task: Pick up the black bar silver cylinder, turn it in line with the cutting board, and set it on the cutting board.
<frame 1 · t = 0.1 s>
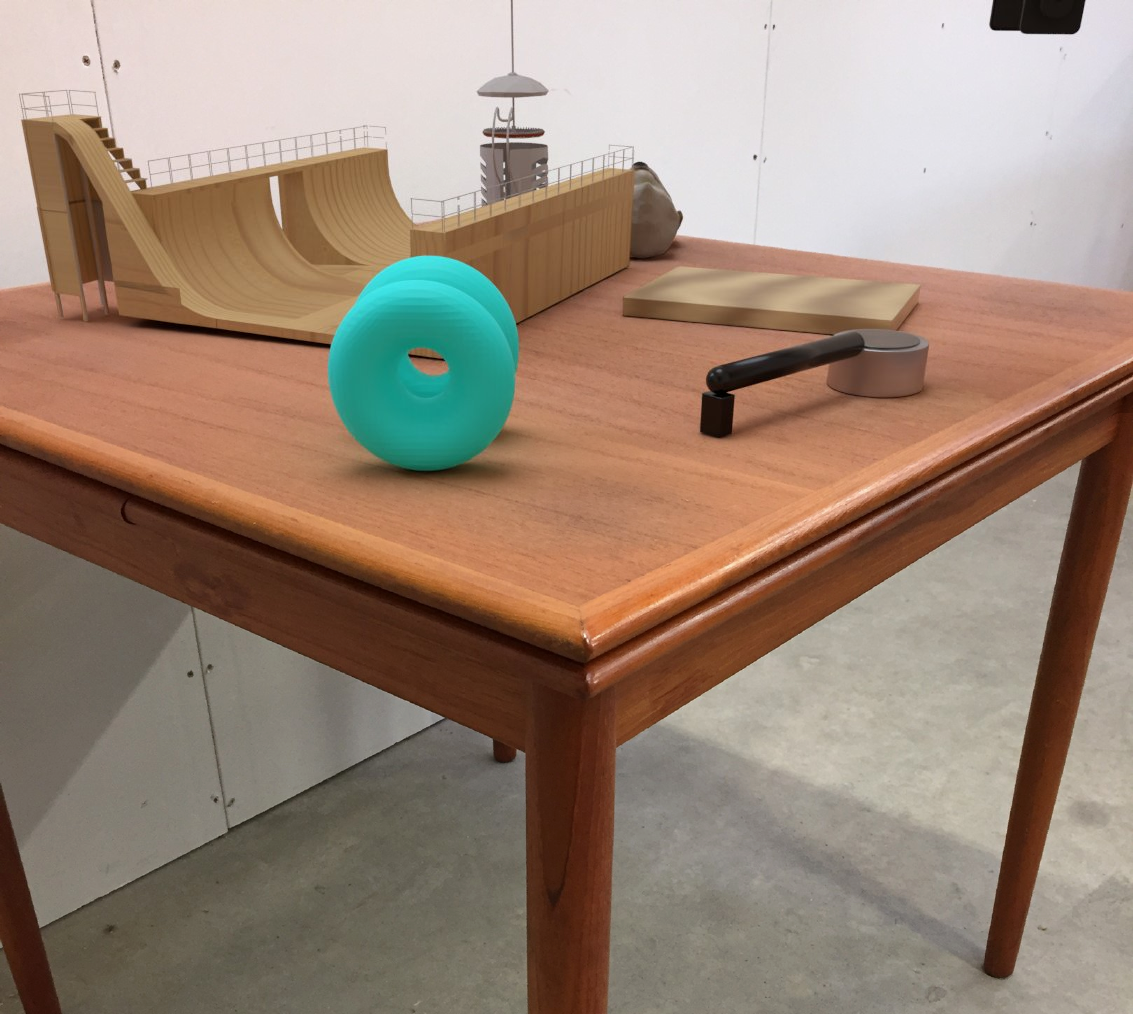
hand: (1030, 31, 73), 21 cm above the table, tool pointing down, fingers open, 9 cm apart
bird feeder: (513, 225, 144), on the table
ceramic sculpture: (636, 252, 129), on the table
cutting board: (773, 308, 104), on the table
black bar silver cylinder: (874, 384, 84), on the table
skate ramp: (372, 292, 110), on the table
donuts: (432, 453, 71), on the table
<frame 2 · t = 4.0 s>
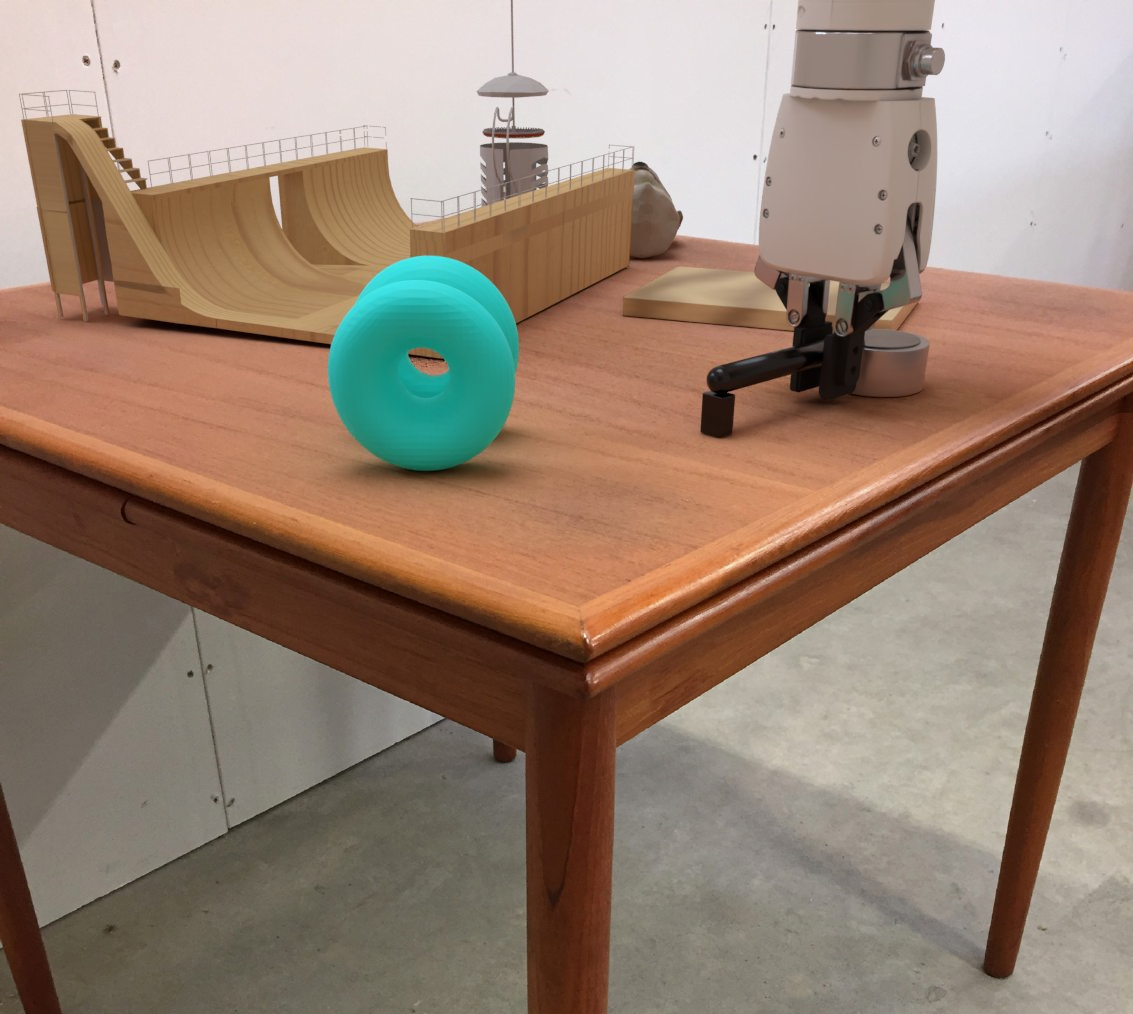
hand: (822, 389, 80), 1 cm above the table, tool pointing down, fingers closed on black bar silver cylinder
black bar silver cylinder: (874, 384, 84), on the table, touching gripper
everything else where it was.
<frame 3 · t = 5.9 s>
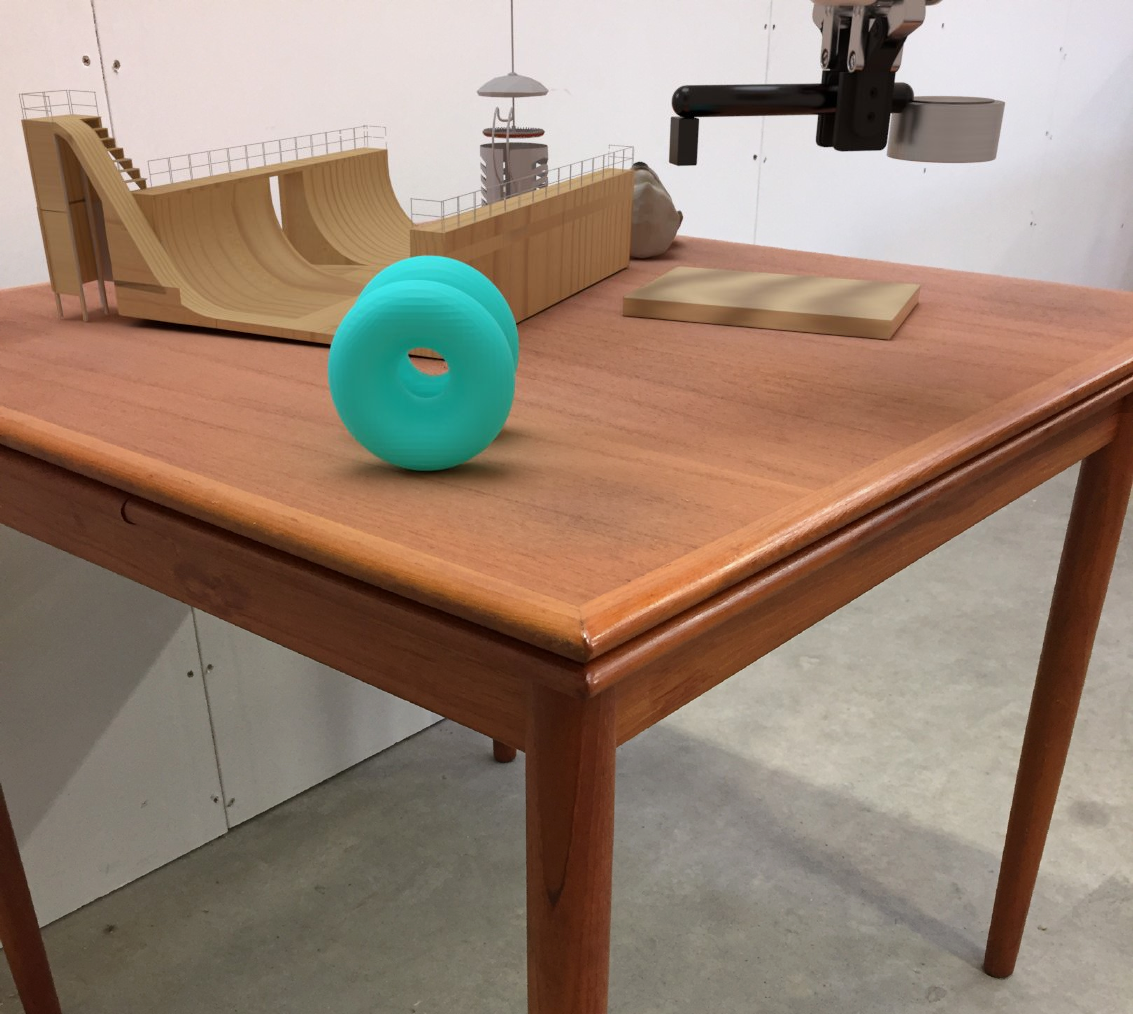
hand: (850, 145, 72), 15 cm above the table, tool pointing down, fingers closed on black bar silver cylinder
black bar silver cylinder: (940, 156, 74), point 14 cm above the table, touching gripper
everything else where it was.
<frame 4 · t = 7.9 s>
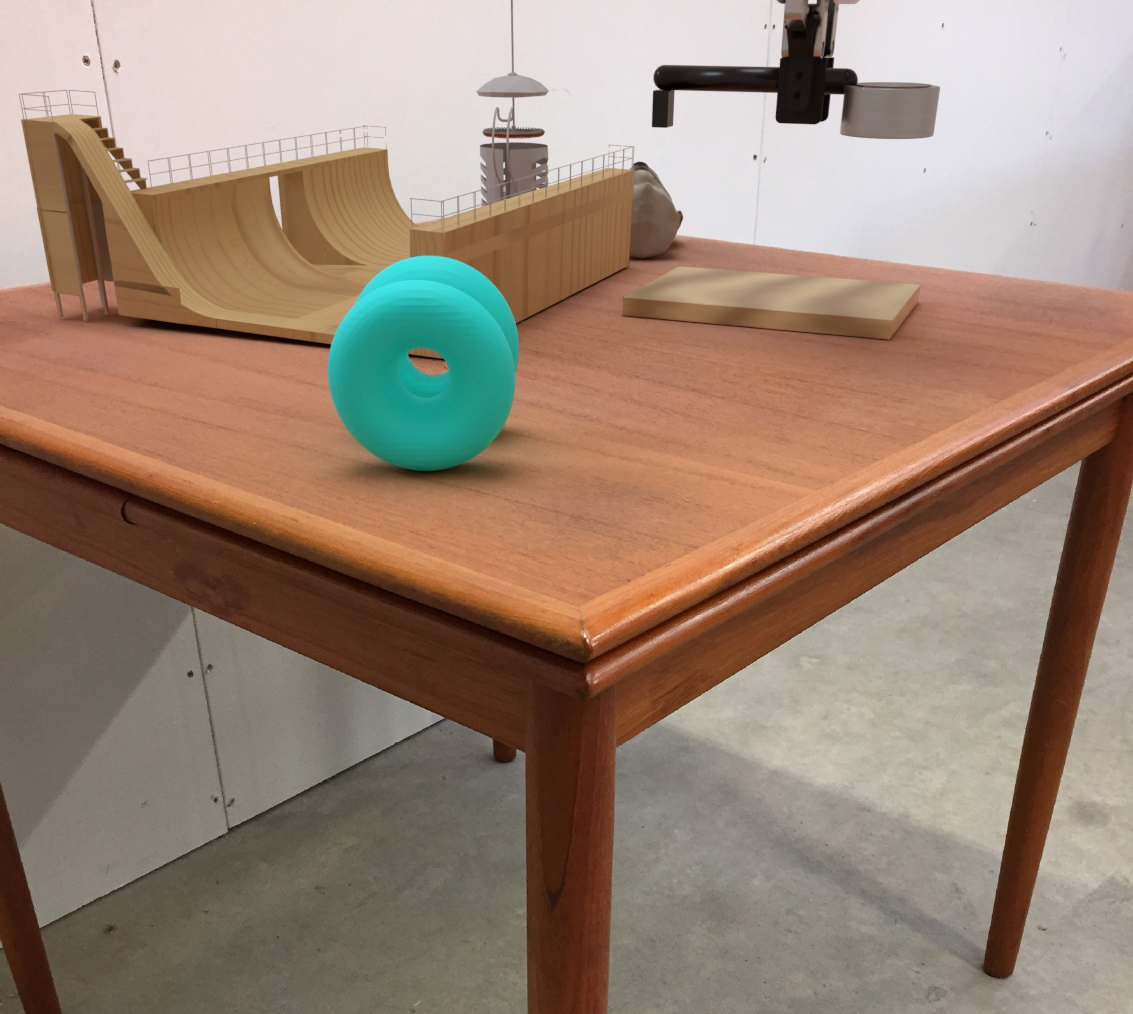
hand: (801, 119, 87), 15 cm above the table, tool pointing down, fingers closed on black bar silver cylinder
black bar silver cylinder: (886, 134, 86), point 14 cm above the table, touching gripper
everything else where it was.
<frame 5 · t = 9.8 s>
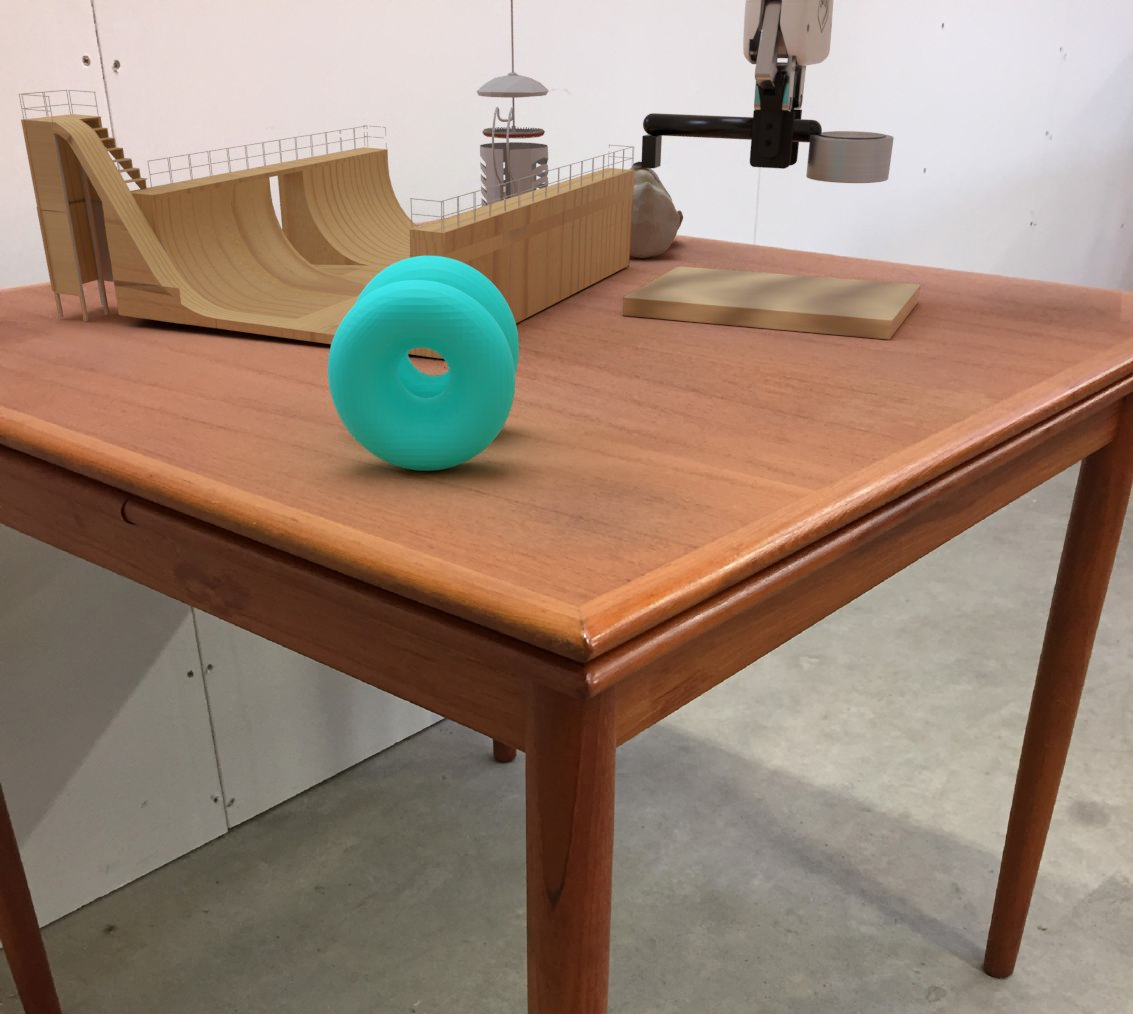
hand: (773, 163, 99), 11 cm above the table, tool pointing down, fingers closed on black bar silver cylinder
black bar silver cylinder: (846, 177, 97), point 10 cm above the table, touching gripper
everything else where it was.
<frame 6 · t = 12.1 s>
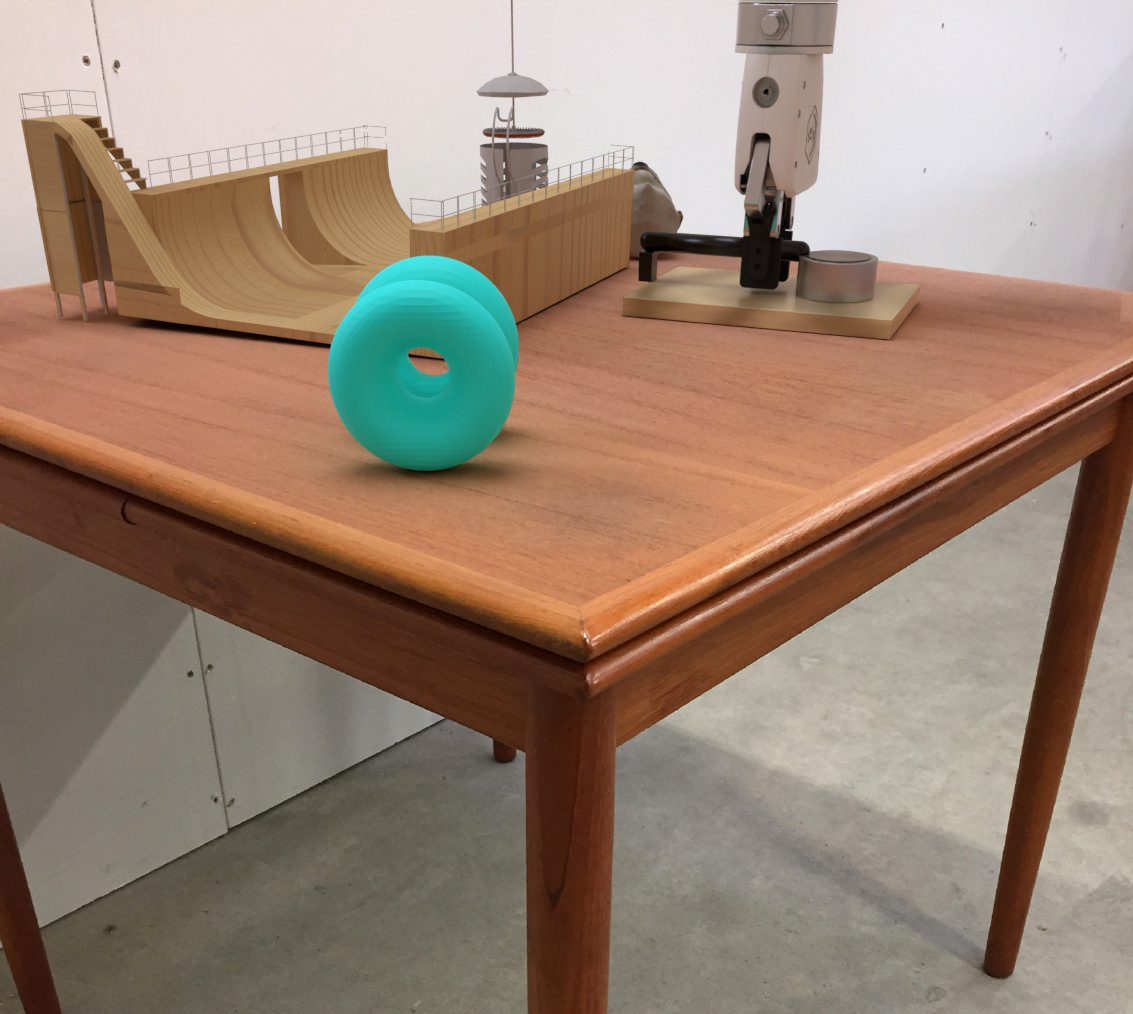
hand: (764, 281, 103), 2 cm above the table, tool pointing down, fingers closed
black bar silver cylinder: (834, 295, 102), point 1 cm above the table, touching cutting board
everything else where it was.
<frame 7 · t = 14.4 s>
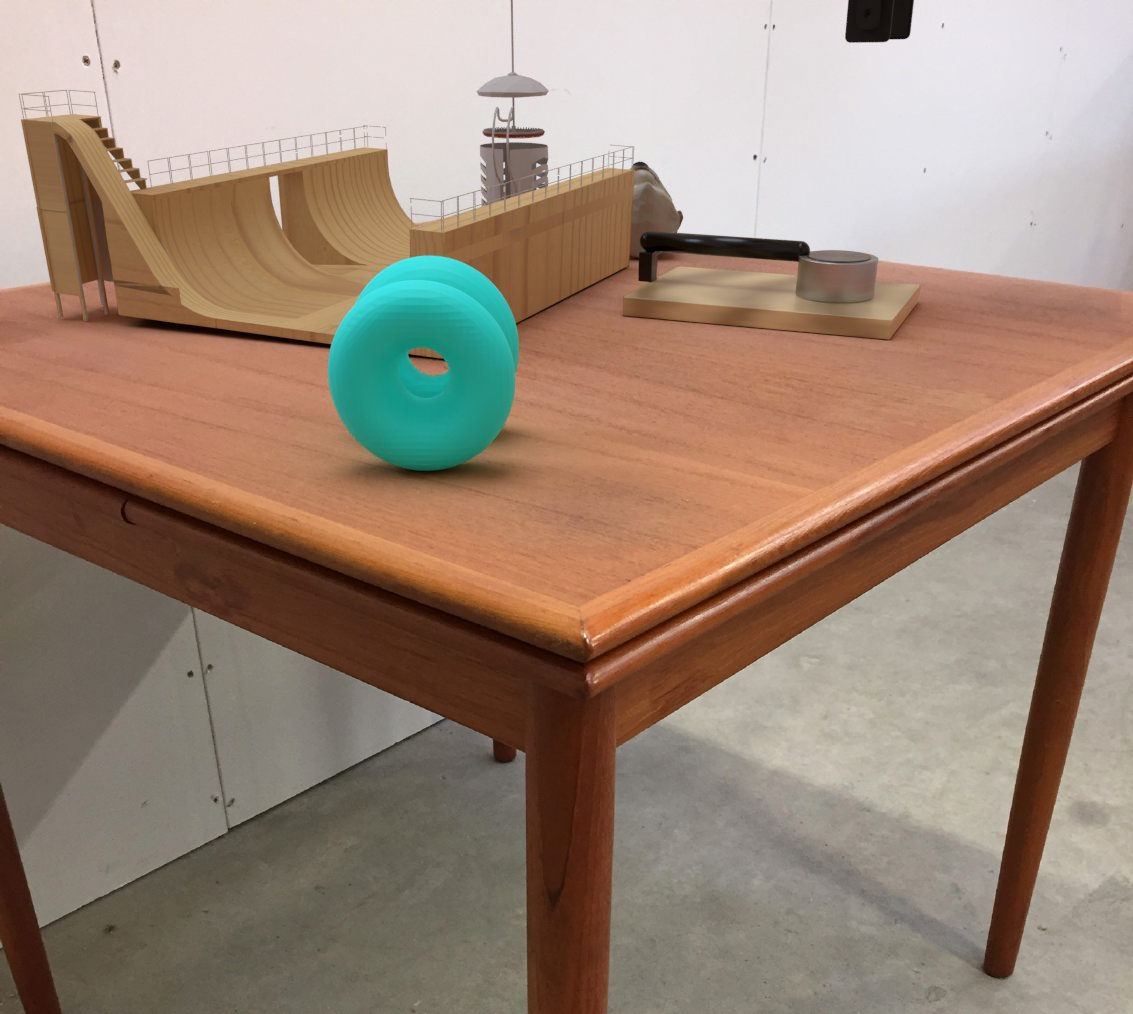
hand: (878, 40, 93), 20 cm above the table, tool pointing down, fingers open, 9 cm apart
nothing on the table moved.
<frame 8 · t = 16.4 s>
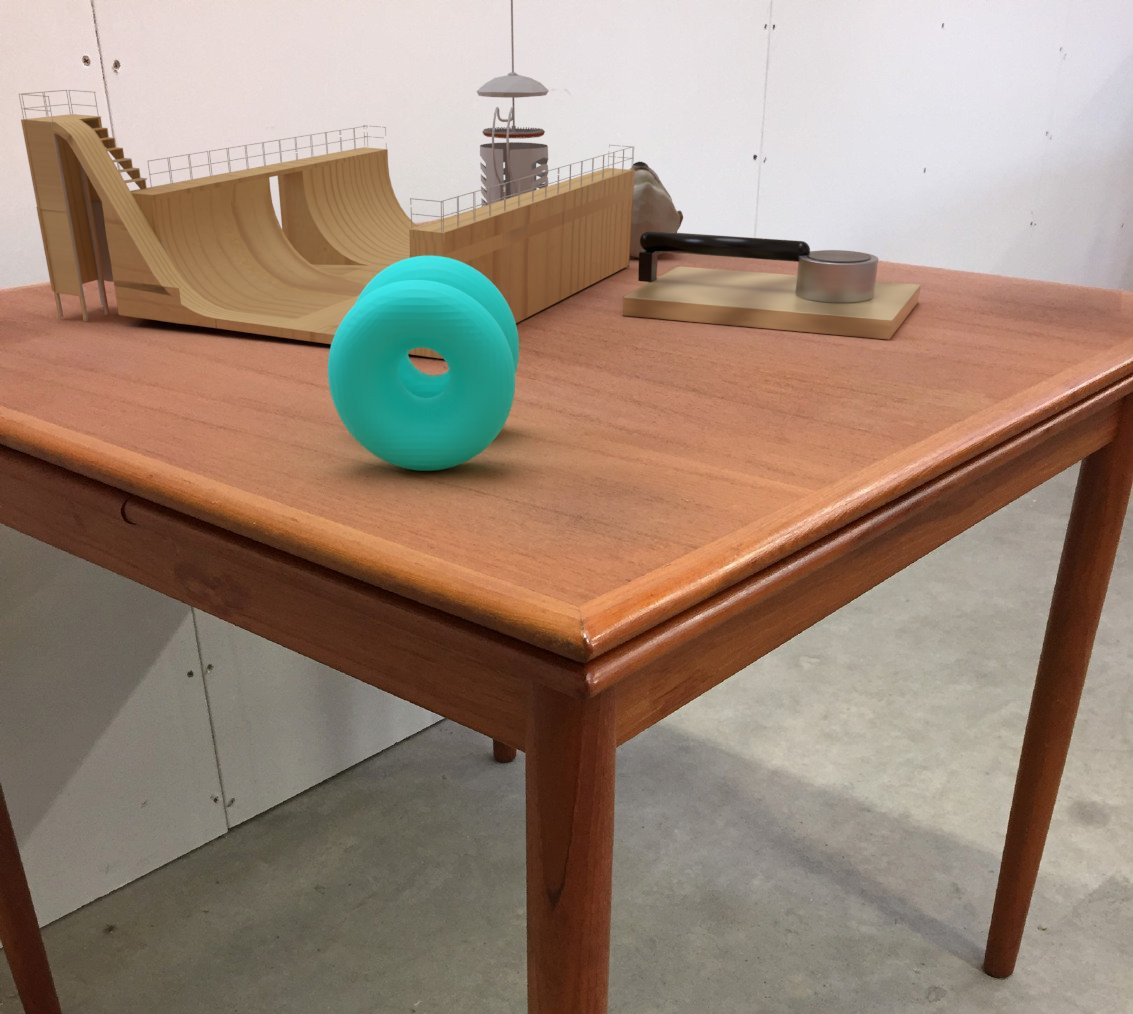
nothing on the table moved.
at the end: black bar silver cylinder inside the target area on the cutting board (5.0 cm from its centre), point 1.5 cm above the cutting board's base; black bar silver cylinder touching cutting board; the gripper is holding nothing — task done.
